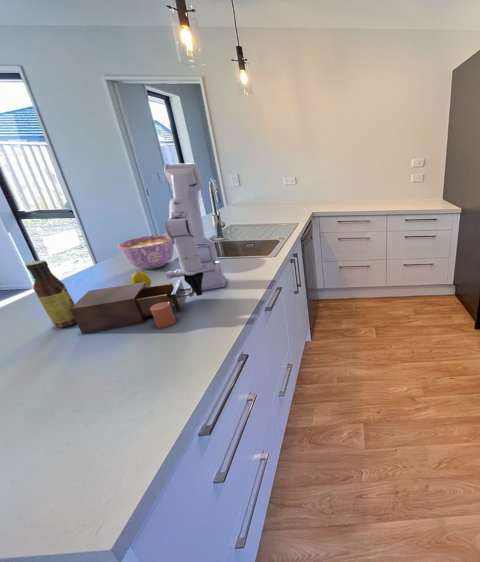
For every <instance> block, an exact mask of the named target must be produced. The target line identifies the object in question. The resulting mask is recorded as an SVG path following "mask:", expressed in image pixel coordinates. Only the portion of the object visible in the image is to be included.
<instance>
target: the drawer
mask: <svg viewBox="0 0 480 562" xmlns="http://www.w3.org/2000/svg"><path fill="white" fill-rule="evenodd" d="M186 291H189V292H188V293H186ZM194 294H195V291H194V290H193V288H192V287H191V286H190V287H185V288H184V284H183V282H182V279H180V280H176V283H175V285H174V284H173V282H168V283H163V284H157V285H150V286H149V287H144V288H143V290H142V291H141V292H140V294H139V295H138V297H137V298H136V303H137V305H138V308H139V310H140V313H141V315H142V317H144V316H146V317H148V316H152V313H151V310H150V307H151V306H153V305H155V304H157V303H161V302H169V303H170V305H171V308H172V311H174V310H173V309H174V308H175V311H176V313H182V311H183V308H184V305H185V302H186V299H187V297H191V298H192V297H194Z"/></svg>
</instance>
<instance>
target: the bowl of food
mask: <svg viewBox="0 0 480 562" xmlns="http://www.w3.org/2000/svg"><path fill="white" fill-rule="evenodd" d="M117 248H118V249H119V251H120V252H121V254H122V255H123V256H124V258H125V259H126V260H127V262H128V263H129V264H130V265H132V266H133V267H135V268H140V269H145V270H152V269H153V270H154V269H158V268H161V267H164V266H165V265H166V264H168V262H170V261H171V260H172V258H173V256H174V244H172V243H171V240H170V238H169V236H168V234H156V235H155V234H154V235H146V236H140V237H135V238H131V239H128V240H125V241H122V242H120V243H118V244H117Z"/></svg>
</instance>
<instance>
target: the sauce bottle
mask: <svg viewBox="0 0 480 562" xmlns="http://www.w3.org/2000/svg"><path fill="white" fill-rule="evenodd" d="M25 267H26V269H27V270H28V271H29V272H30V274H31V276H32V278H33V279H34V282H33V285H32V289H33V291H34V293H35V295H36V296H37V299H38V300H39V303H40V304H41V306H42V307H43V309H44V311H45V313H46V314H47V316H48V318H49V320H50V321H51V323H52V324H53V325H54V327H55V328H59V329H62V328H68V327H71V326H73V325H76V324H77V322H76V320H75V318H74V316H73V314H72V312H71V310H70V308H71V307H72V306H74V305H75V304H76V303H75V302H74V300H73V298H72V296H71V294H70V293H69V291H68V289H67V286H66V285H65V284H64V282H63V281H61V280H60V279H59V278H58V277H56V276H55V274H53V272H52V271H51V269H50V267H49V264H48V262H47V260H44V259H42V260H35V261H31V262H28V263H26V264H25Z"/></svg>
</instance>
